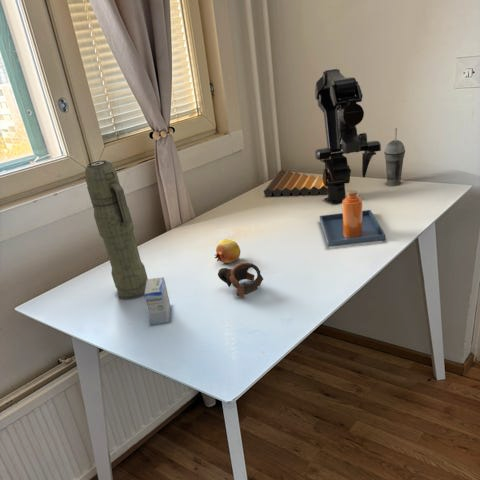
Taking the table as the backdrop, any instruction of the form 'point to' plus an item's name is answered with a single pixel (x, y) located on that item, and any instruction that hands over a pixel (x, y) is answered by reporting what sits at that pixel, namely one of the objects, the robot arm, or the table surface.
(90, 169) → the thermos
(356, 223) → the orange bottle
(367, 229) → the blue rectangular tray
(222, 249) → the fruit
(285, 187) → the pan flute
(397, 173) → the beverage cup
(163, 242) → the table surface
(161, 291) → the medicine box
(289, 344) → the table surface
